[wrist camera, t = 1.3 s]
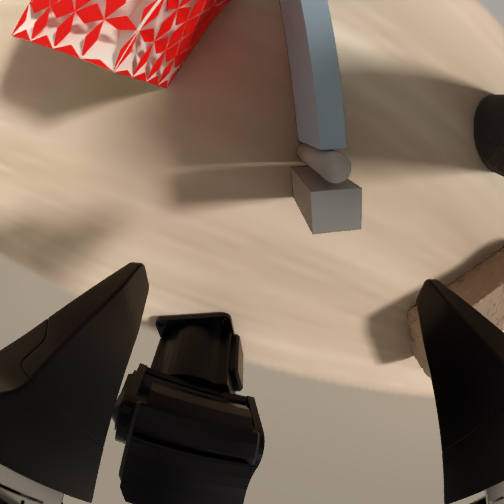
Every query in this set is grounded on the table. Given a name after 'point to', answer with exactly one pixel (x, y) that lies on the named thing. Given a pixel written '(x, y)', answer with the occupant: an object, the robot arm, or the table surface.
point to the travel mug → (490, 132)
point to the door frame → (326, 201)
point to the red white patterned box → (121, 32)
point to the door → (316, 87)
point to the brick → (469, 300)
